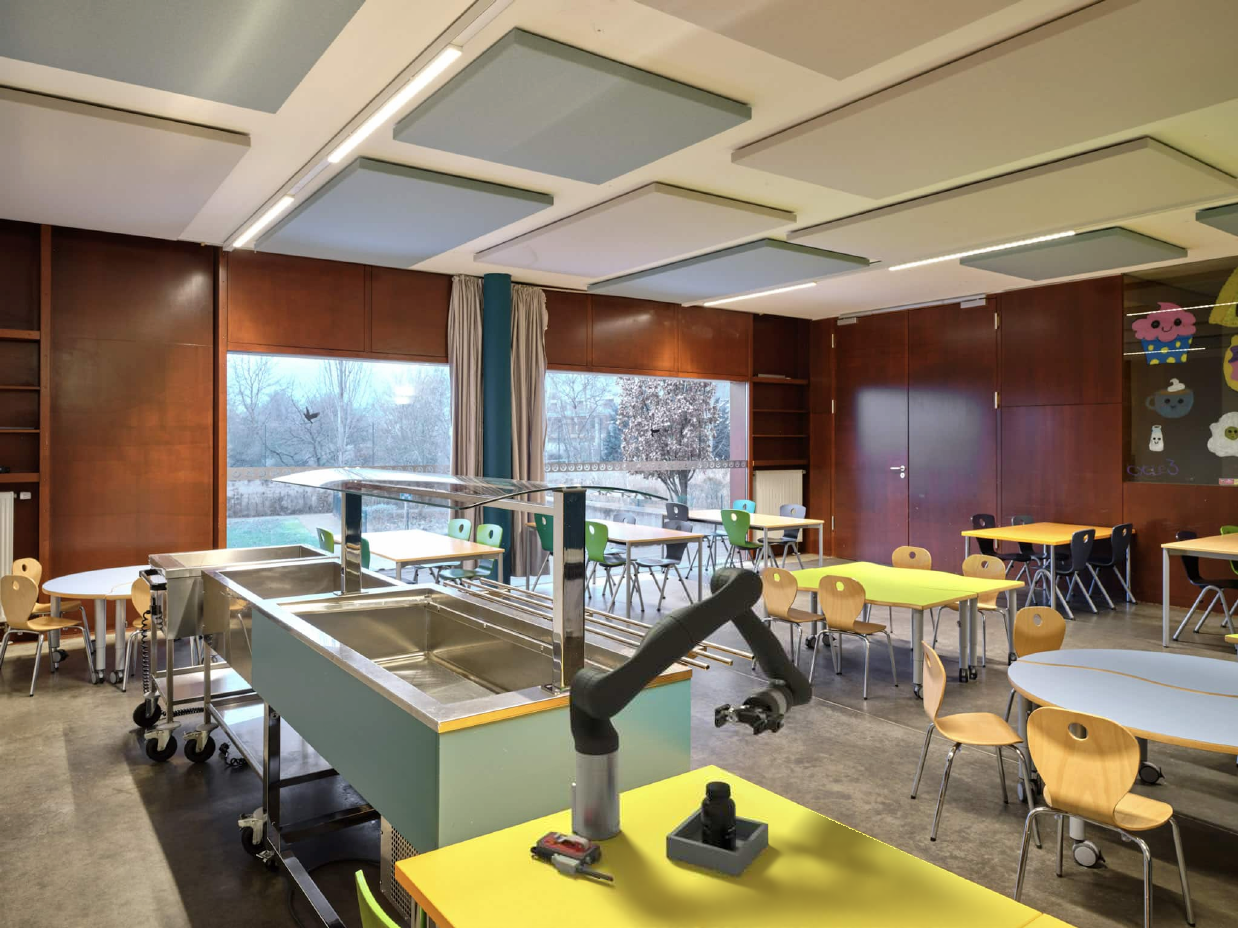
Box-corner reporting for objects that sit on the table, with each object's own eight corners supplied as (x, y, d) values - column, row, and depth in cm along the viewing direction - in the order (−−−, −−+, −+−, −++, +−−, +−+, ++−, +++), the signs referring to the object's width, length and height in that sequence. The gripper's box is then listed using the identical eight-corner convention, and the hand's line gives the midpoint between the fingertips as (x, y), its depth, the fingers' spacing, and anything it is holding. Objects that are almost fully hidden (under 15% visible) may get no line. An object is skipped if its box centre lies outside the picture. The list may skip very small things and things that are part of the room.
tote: (666, 857, 153) (666, 836, 153) (700, 826, 166) (700, 807, 166) (738, 877, 145) (738, 856, 145) (768, 843, 158) (768, 823, 158)
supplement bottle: (738, 855, 152) (737, 793, 152) (702, 855, 153) (701, 793, 152) (734, 838, 159) (733, 778, 159) (700, 838, 159) (699, 778, 159)
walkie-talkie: (522, 861, 153) (610, 890, 142) (522, 838, 153) (609, 866, 142) (550, 842, 160) (635, 868, 150) (550, 820, 160) (634, 845, 150)
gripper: (735, 686, 183) (705, 702, 169) (795, 696, 175) (768, 714, 162) (735, 719, 183) (704, 738, 169) (794, 730, 175) (767, 751, 161)
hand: (735, 726), depth 165 cm, fingers open, 8 cm apart
